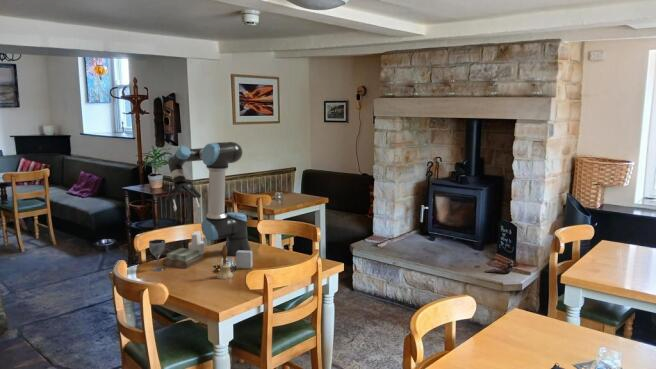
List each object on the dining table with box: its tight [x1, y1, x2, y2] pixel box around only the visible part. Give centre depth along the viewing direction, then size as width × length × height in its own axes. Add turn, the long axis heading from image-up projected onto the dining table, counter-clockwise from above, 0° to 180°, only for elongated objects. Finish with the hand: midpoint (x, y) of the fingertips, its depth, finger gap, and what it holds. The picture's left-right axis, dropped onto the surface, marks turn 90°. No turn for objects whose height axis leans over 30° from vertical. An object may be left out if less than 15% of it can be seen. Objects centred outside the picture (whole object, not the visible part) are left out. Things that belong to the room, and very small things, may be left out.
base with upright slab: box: [187, 230, 206, 255], centre depth 292 cm, size 9×9×12 cm
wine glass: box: [148, 238, 166, 272], centre depth 262 cm, size 8×8×15 cm
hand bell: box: [216, 244, 234, 280], centre depth 252 cm, size 8×8×16 cm
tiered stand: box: [162, 247, 204, 269], centre depth 274 cm, size 15×15×6 cm
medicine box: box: [235, 250, 254, 270], centre depth 266 cm, size 8×4×9 cm, turn 84°
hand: (187, 209), depth 295 cm, fingers open, 13 cm apart
